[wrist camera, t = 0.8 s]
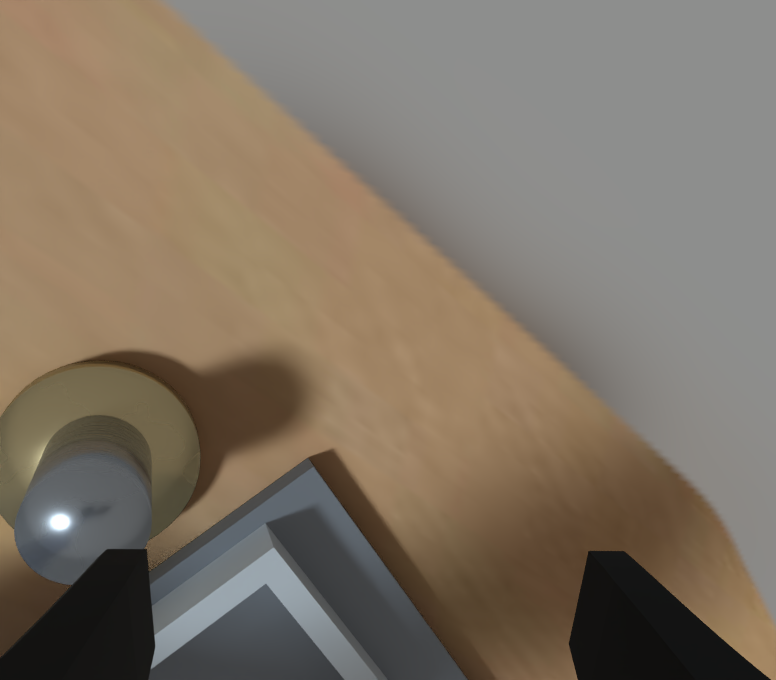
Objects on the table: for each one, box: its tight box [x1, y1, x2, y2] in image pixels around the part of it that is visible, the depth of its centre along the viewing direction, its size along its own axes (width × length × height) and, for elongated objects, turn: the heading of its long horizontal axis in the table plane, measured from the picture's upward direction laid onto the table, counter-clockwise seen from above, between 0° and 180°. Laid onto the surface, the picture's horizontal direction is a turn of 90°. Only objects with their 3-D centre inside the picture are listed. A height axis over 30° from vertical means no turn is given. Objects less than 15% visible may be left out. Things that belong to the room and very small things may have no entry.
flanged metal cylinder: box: [0, 360, 200, 585], centre depth 23 cm, size 7×7×6 cm
